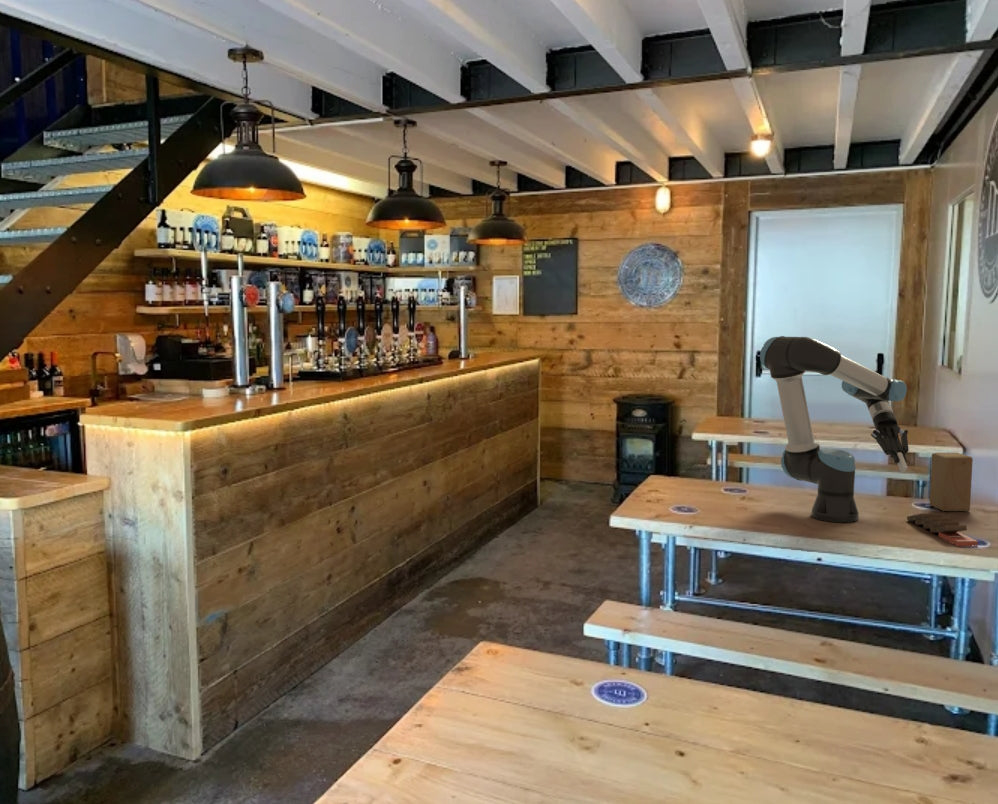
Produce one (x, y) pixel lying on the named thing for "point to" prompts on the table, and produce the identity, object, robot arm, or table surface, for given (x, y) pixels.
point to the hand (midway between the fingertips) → (904, 469)
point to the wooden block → (951, 481)
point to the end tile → (958, 538)
